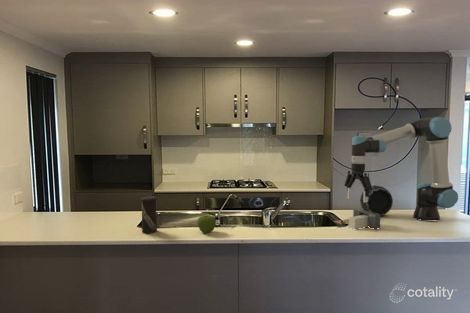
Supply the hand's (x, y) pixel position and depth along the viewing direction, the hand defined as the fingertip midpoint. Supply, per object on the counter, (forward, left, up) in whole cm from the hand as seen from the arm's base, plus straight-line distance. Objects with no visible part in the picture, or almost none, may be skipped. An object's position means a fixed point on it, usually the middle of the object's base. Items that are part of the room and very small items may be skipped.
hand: (357, 200), depth 212 cm
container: (+109, -49, -16) cm, 121 cm away
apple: (+81, -32, -16) cm, 89 cm away
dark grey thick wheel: (-34, -16, -16) cm, 41 cm away
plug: (-4, 0, -16) cm, 17 cm away
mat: (-8, -12, -16) cm, 22 cm away
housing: (-8, 0, -16) cm, 18 cm away
